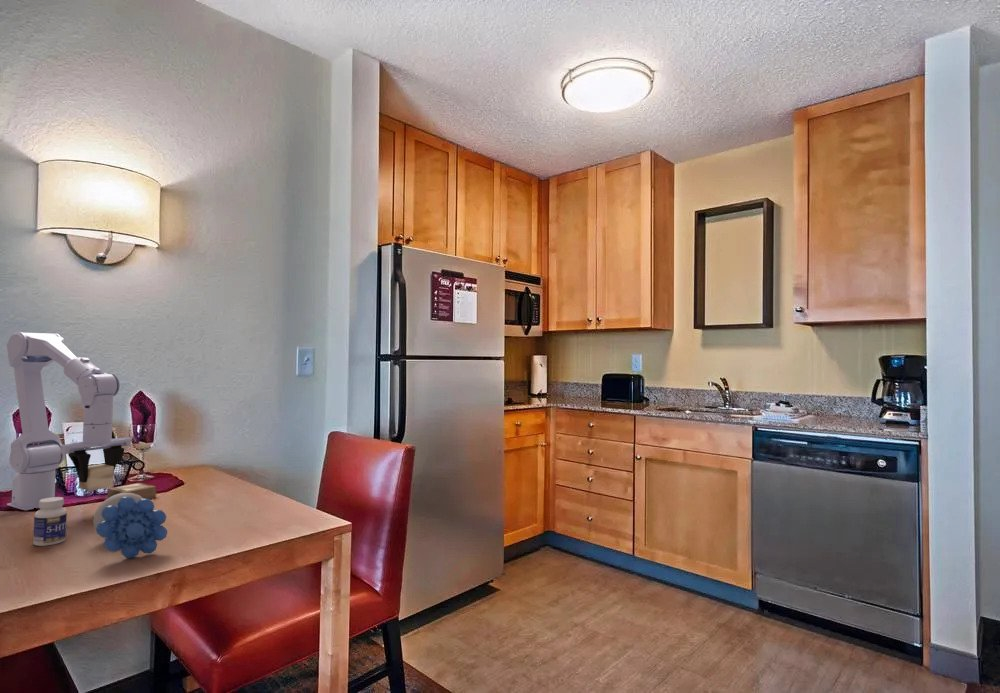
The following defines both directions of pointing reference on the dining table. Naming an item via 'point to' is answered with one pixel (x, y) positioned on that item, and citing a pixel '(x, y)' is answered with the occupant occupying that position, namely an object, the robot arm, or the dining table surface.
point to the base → (134, 490)
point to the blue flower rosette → (132, 527)
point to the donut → (112, 502)
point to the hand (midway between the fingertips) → (95, 479)
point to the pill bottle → (50, 522)
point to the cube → (98, 477)
